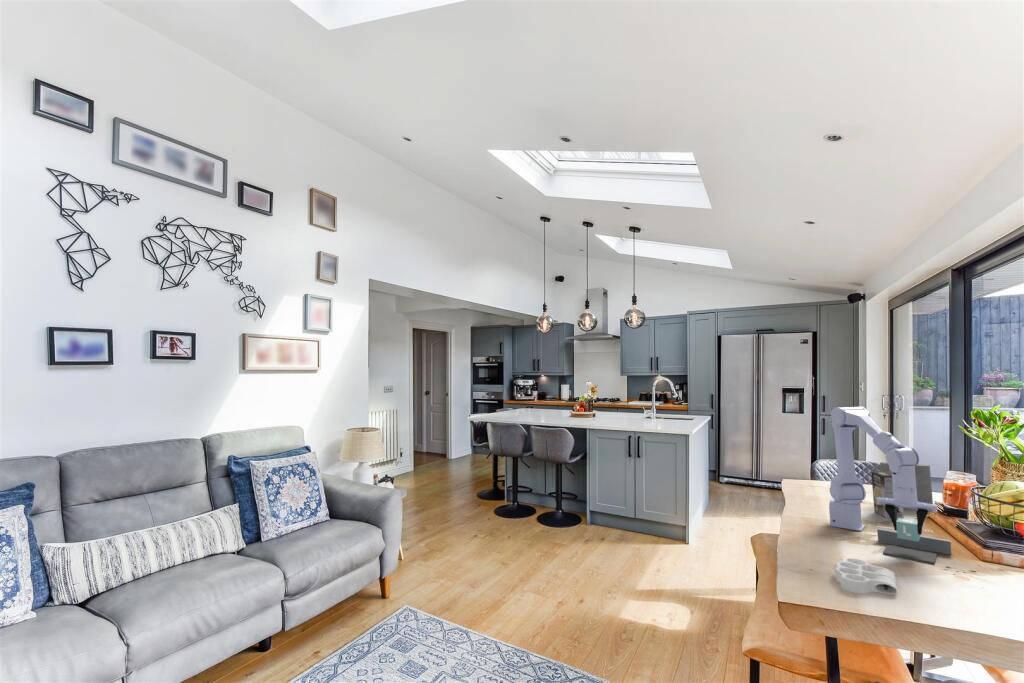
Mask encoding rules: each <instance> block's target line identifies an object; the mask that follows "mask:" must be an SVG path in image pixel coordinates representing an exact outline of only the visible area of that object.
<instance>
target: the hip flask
mask: <svg viewBox="0 0 1024 683" xmlns="http://www.w3.org/2000/svg"><path fill="white" fill-rule="evenodd" d="M879 463H880V464H879V465H880V471H889V472H891V473H892V471H890V469H889V464H888V463H887V461H880V462H879ZM915 478H916V490H917V501H918V502H923V503H928V504H934V502H933V489H932V487H933V486H932V476H931V467H930V465H929V464H919V463H918V465H917V466H915ZM907 509H909V510H911V509H910V508H907Z"/></svg>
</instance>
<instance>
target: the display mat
mask: <svg viewBox="0 0 1024 683" xmlns="http://www.w3.org/2000/svg"><path fill="white" fill-rule="evenodd" d="M882 555H885V556H890V557H894V558H901V559H904V560H909V561H915V562H920V563H926V564H929V565H935V563H936V560H937V557H938V553H937V552H932V551H926V550H921V549H915V548H910V547H905V546H899V545H894V544H887V545H886V547H885V548H884V550H883V551H882Z"/></svg>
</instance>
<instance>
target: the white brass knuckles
mask: <svg viewBox="0 0 1024 683" xmlns="http://www.w3.org/2000/svg"><path fill="white" fill-rule="evenodd" d="M830 569H833V570H834V572H832V573H829V575H830V576H831V577H833V578H835V580H836V581H837V582H838V583H839V584H841V585H840V587H841V589H843V590H845V591H847V592H850V593H854V594H860V595H861V594H863V595H864V594H868V593H873V592H875V593H880V594H884V595H889V596H892V595H897V594H898V587H897V580H896V574H895V572H894V571H892V570H891V569H889V568H886V567H883V566H879V565H873V564H870V563H868V562H867V561H865V560H864V559H863V560H862V559H860V558H856V557H843V558H842V559H841V561H837V562H836V563H835V565H834V566H830ZM884 585H886V586H887V588H886V589H885V586H884Z"/></svg>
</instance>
